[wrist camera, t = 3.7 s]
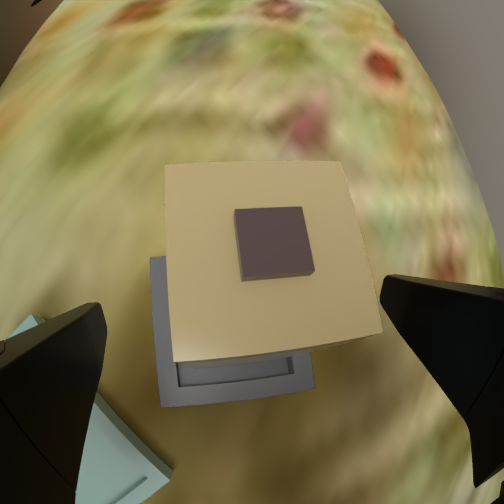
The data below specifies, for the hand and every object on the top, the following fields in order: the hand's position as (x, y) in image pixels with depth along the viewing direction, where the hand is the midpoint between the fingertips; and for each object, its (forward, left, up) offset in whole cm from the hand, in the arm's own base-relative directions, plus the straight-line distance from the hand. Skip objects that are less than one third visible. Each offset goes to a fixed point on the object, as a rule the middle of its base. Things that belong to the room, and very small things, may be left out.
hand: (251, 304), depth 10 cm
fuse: (0, 0, -9) cm, 9 cm away
